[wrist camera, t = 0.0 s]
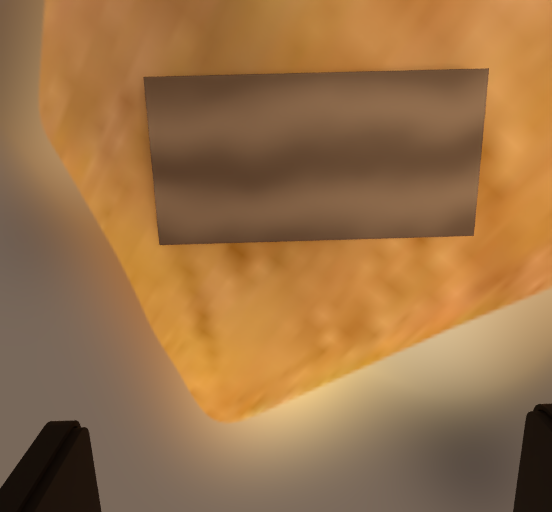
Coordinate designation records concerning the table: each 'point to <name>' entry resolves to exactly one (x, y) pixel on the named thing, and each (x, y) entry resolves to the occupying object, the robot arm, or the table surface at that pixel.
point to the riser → (316, 155)
